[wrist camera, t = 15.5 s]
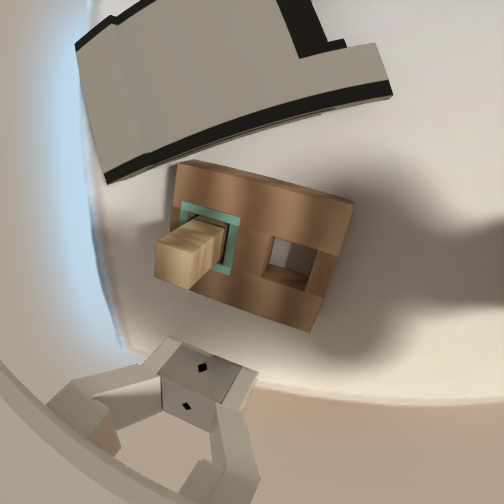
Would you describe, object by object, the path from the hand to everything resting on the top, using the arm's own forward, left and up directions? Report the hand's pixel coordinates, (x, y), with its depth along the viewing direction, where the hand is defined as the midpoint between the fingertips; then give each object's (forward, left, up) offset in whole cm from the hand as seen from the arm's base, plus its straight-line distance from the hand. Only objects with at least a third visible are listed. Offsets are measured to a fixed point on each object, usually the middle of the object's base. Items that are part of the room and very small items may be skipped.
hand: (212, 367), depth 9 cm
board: (+6, +8, -28) cm, 30 cm away
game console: (+14, -14, -29) cm, 35 cm away
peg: (+11, +8, -28) cm, 31 cm away
